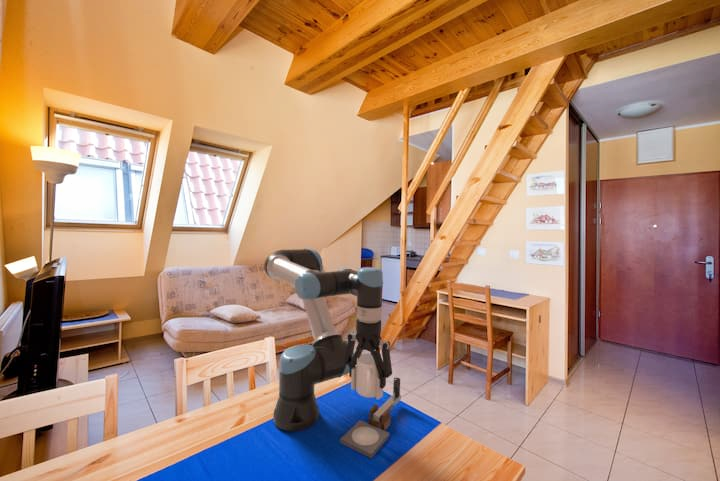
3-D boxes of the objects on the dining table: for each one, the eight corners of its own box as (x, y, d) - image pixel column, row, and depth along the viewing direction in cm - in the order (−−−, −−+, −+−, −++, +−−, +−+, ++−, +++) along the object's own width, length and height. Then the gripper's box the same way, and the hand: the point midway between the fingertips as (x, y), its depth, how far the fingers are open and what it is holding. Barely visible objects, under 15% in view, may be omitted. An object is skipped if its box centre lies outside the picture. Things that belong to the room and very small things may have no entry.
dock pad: (340, 442, 95) (340, 438, 95) (359, 423, 104) (359, 419, 104) (371, 458, 89) (371, 453, 89) (389, 436, 98) (389, 432, 98)
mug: (382, 406, 89) (384, 371, 88) (353, 404, 89) (354, 369, 89) (382, 384, 101) (383, 353, 100) (356, 383, 101) (357, 352, 101)
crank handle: (372, 419, 102) (373, 396, 102) (394, 397, 116) (395, 376, 115) (379, 422, 101) (380, 398, 101) (400, 399, 115) (401, 378, 114)
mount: (368, 424, 104) (369, 409, 104) (374, 417, 107) (375, 403, 107) (384, 430, 101) (385, 415, 100) (390, 424, 104) (390, 409, 104)
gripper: (333, 315, 97) (331, 387, 98) (395, 330, 85) (392, 410, 87) (347, 310, 103) (345, 377, 104) (406, 323, 92) (403, 398, 93)
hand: (366, 392), depth 96 cm, fingers closed on mug, 8 cm apart
